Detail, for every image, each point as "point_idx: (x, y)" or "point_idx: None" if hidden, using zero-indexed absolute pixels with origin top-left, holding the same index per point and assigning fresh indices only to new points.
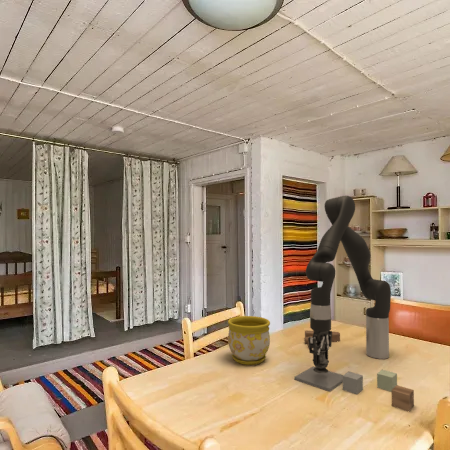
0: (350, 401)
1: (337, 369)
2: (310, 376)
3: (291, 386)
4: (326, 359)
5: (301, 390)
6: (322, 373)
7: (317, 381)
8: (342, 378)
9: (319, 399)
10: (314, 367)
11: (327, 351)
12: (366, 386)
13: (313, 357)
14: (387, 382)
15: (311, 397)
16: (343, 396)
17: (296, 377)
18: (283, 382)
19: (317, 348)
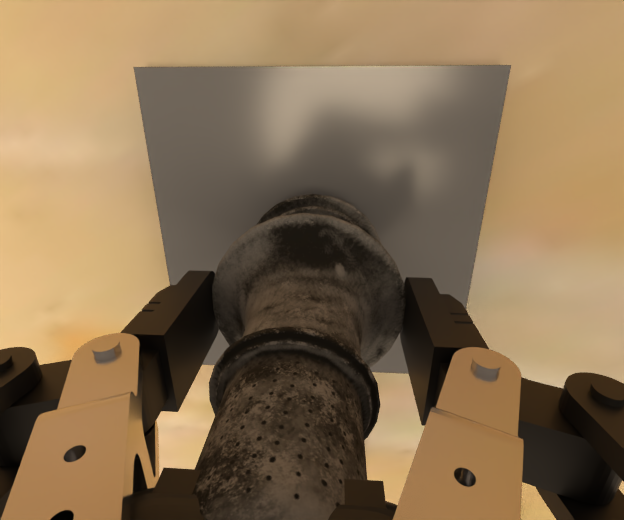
0: (181, 452)
1: (606, 245)
2: (254, 177)
3: (34, 127)
4: (377, 346)
5: (54, 218)
6: (386, 223)
7: (216, 262)
8: (393, 364)
9: (64, 347)
10: (481, 94)
11: (428, 414)
12: (411, 459)
13: (130, 325)
14: None
15: (42, 307)
16: (201, 417)
17: (139, 92)
18: (24, 25)
19: (221, 404)
